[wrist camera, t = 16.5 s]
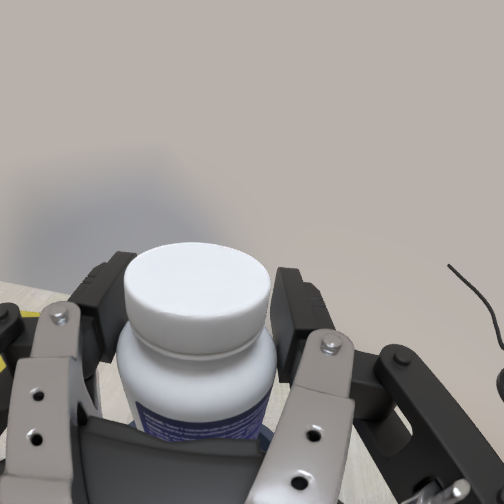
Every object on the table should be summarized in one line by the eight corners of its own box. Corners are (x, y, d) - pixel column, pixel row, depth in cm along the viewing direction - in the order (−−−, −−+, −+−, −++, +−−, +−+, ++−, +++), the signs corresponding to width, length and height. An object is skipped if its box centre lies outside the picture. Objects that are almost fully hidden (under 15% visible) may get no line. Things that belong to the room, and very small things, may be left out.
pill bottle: (277, 442, 11) (335, 286, 8) (189, 505, 8) (165, 381, 4) (205, 379, 15) (213, 224, 11) (122, 421, 11) (77, 255, 7)
